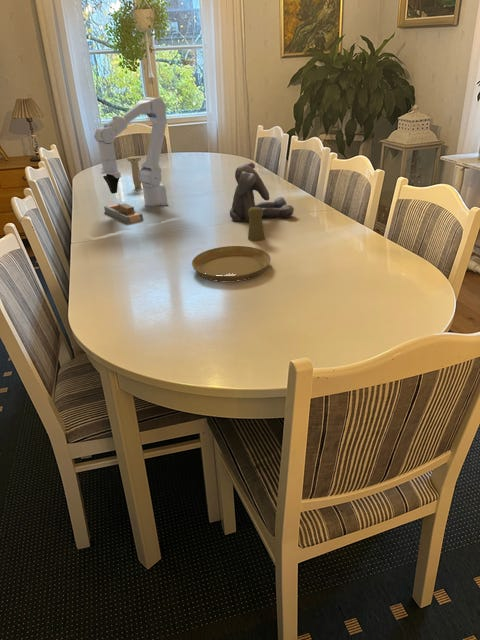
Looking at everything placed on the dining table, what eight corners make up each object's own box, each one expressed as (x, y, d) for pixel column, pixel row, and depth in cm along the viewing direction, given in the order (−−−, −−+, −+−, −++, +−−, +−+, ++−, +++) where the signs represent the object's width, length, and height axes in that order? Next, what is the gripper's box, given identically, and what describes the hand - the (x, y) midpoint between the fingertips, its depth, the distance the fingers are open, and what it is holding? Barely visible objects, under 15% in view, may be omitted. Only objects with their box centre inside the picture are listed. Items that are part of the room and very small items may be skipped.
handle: (144, 188, 257) (140, 157, 250) (131, 189, 256) (126, 158, 249) (144, 186, 261) (140, 155, 254) (132, 187, 260) (127, 156, 253)
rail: (121, 210, 223) (120, 202, 222) (144, 221, 207) (143, 213, 206) (104, 214, 219) (102, 206, 218) (126, 226, 203) (125, 217, 202)
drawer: (126, 215, 214) (125, 203, 211) (135, 219, 208) (133, 206, 205) (120, 216, 212) (118, 204, 210) (128, 220, 206) (126, 208, 204)
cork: (267, 235, 185) (266, 205, 180) (262, 241, 180) (261, 210, 175) (250, 234, 187) (249, 204, 182) (245, 240, 182) (244, 209, 177)
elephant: (296, 221, 198) (296, 166, 189) (231, 225, 198) (227, 170, 188) (288, 206, 217) (288, 156, 207) (228, 210, 216) (225, 159, 206)
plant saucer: (244, 291, 145) (244, 280, 143) (176, 277, 157) (175, 266, 155) (284, 262, 163) (284, 252, 161) (221, 251, 174) (220, 241, 173)
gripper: (92, 158, 210) (98, 191, 216) (106, 163, 199) (112, 198, 206) (108, 155, 214) (113, 188, 220) (123, 160, 203) (128, 194, 209)
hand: (114, 193), depth 213 cm, fingers closed
